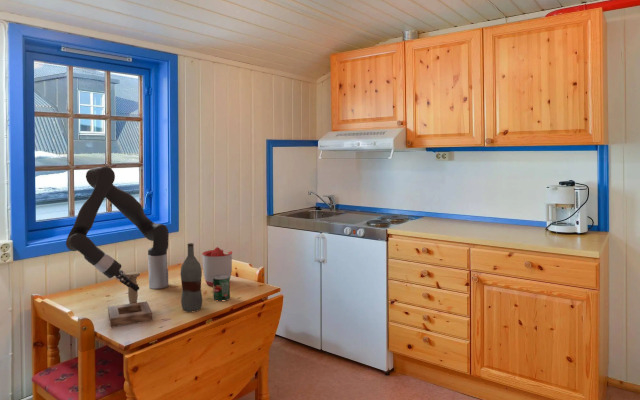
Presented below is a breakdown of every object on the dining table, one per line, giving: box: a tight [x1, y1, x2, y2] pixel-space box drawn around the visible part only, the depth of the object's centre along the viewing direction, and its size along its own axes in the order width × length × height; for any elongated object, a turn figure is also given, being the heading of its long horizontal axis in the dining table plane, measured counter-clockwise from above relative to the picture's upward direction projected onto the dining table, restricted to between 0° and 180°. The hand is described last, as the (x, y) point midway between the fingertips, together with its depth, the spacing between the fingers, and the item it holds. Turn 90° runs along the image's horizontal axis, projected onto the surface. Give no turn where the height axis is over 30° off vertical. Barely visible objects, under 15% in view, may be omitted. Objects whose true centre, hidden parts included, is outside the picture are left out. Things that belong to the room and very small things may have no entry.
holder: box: [107, 301, 153, 328], centre depth 198 cm, size 16×16×4 cm
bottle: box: [180, 242, 203, 313], centre depth 208 cm, size 9×9×30 cm
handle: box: [125, 271, 141, 304], centre depth 212 cm, size 5×6×15 cm
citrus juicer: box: [201, 246, 233, 287], centre depth 248 cm, size 16×17×20 cm
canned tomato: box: [212, 274, 231, 302], centre depth 223 cm, size 8×8×11 cm
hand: (137, 288), depth 213 cm, fingers closed on handle, 3 cm apart
